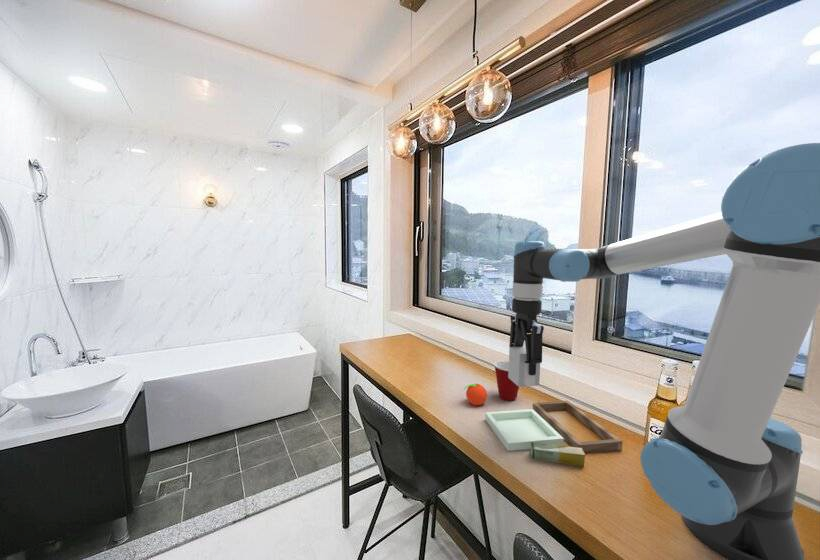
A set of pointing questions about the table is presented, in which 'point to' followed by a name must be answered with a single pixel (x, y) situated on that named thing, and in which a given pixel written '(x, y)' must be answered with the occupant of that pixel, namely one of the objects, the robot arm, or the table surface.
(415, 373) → the table surface
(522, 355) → the stone block
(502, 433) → the tray
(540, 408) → the brown wooden frame
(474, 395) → the clementine
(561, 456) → the medication box
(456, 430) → the table surface
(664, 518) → the table surface
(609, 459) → the table surface
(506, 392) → the plastic cup
